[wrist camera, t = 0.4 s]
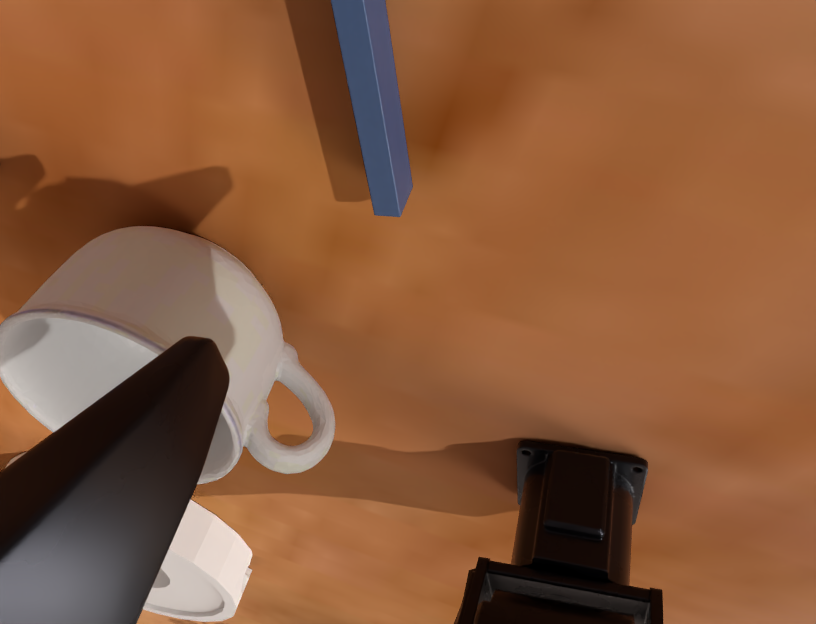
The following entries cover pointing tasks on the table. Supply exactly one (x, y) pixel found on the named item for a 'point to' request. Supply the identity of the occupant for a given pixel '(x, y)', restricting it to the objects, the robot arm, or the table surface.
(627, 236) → the table surface
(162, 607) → the ashtray
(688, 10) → the table surface
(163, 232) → the teacup
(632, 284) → the table surface
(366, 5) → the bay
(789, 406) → the table surface
